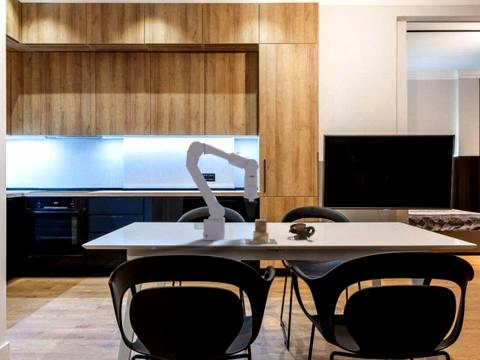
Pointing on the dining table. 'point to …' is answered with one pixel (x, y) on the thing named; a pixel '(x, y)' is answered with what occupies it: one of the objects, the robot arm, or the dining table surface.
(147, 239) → the dining table surface
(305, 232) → the pottery mug
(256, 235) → the oak block
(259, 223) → the walnut block
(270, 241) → the mat
